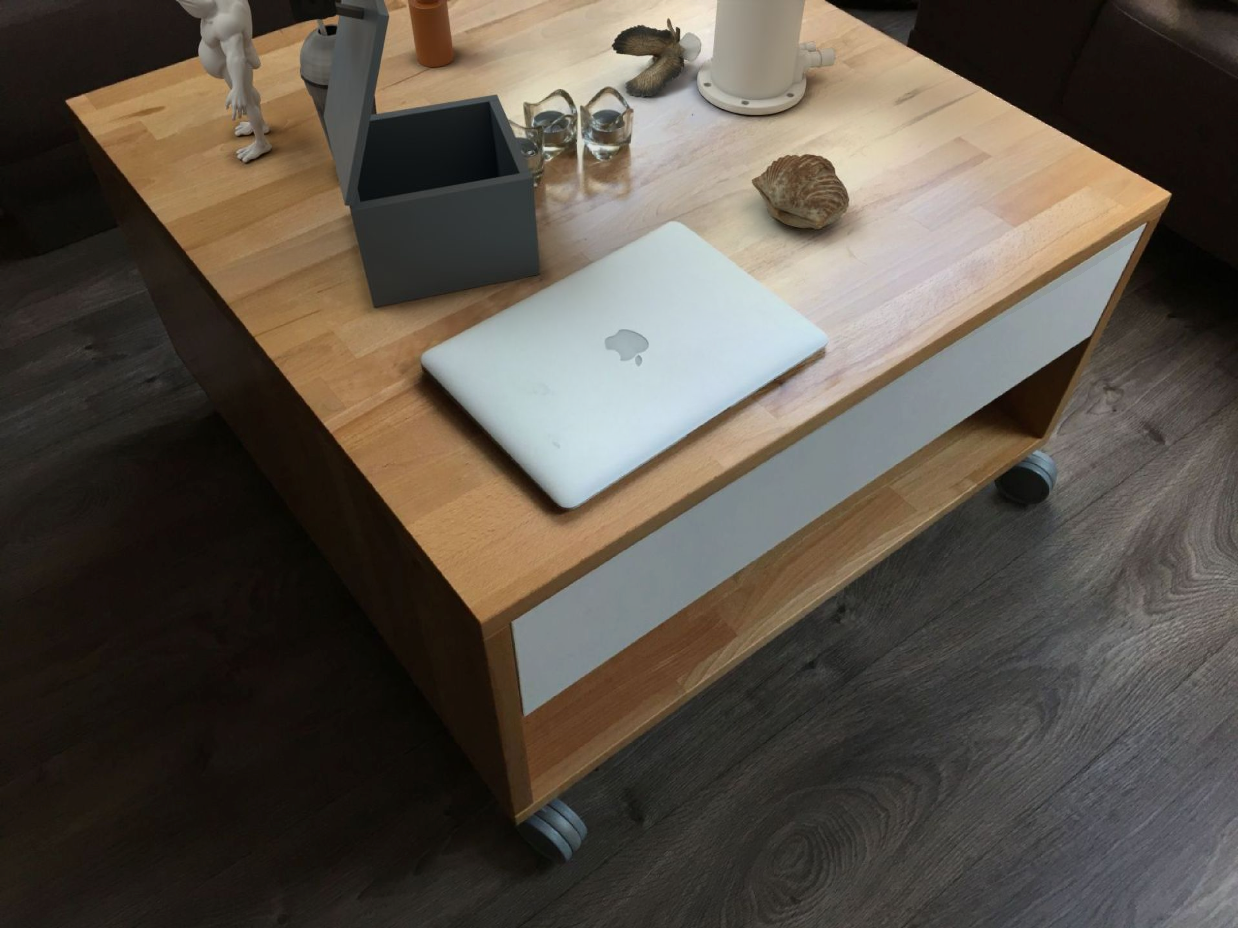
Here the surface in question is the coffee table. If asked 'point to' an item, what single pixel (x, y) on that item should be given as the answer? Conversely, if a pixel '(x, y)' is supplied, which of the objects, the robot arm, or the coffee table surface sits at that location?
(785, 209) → the seashell
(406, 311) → the coffee table surface
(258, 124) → the figurine
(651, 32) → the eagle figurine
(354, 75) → the lid
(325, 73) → the beverage cup
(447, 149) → the chest
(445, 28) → the spice bottle
